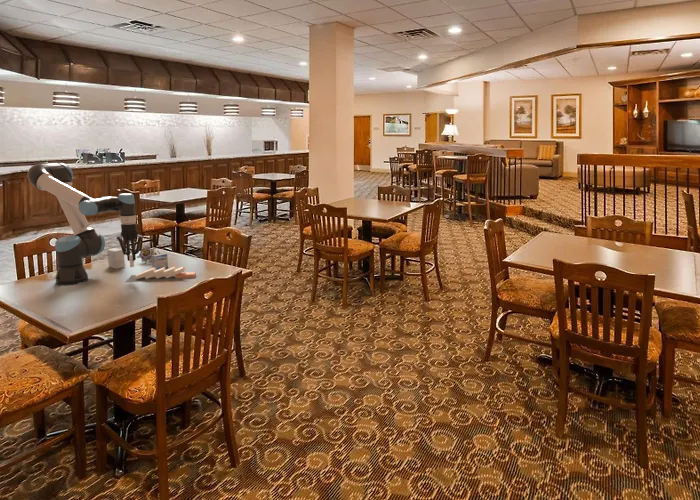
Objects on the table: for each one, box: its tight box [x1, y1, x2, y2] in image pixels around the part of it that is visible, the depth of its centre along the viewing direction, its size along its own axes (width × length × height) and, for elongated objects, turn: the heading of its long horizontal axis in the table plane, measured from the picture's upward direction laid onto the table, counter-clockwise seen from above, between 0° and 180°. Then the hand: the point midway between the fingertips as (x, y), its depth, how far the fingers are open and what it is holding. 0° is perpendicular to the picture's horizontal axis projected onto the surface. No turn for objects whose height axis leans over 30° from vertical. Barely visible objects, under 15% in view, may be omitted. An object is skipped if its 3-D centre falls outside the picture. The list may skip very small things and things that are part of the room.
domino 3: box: [156, 266, 177, 279], centre depth 274 cm, size 2×5×10 cm
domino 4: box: [165, 265, 186, 278], centre depth 275 cm, size 2×5×10 cm
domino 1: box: [135, 267, 156, 279], centre depth 273 cm, size 2×5×10 cm
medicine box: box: [150, 252, 169, 270], centre depth 292 cm, size 8×4×9 cm, turn 143°
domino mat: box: [125, 274, 184, 283], centre depth 274 cm, size 29×13×1 cm, turn 99°
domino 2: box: [145, 267, 167, 279], centre depth 274 cm, size 2×5×10 cm
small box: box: [106, 247, 126, 270], centre depth 296 cm, size 8×6×10 cm
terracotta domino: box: [175, 271, 197, 279], centre depth 276 cm, size 2×5×10 cm
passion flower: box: [136, 245, 161, 264], centre depth 309 cm, size 11×11×12 cm
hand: (132, 266), depth 271 cm, fingers closed
